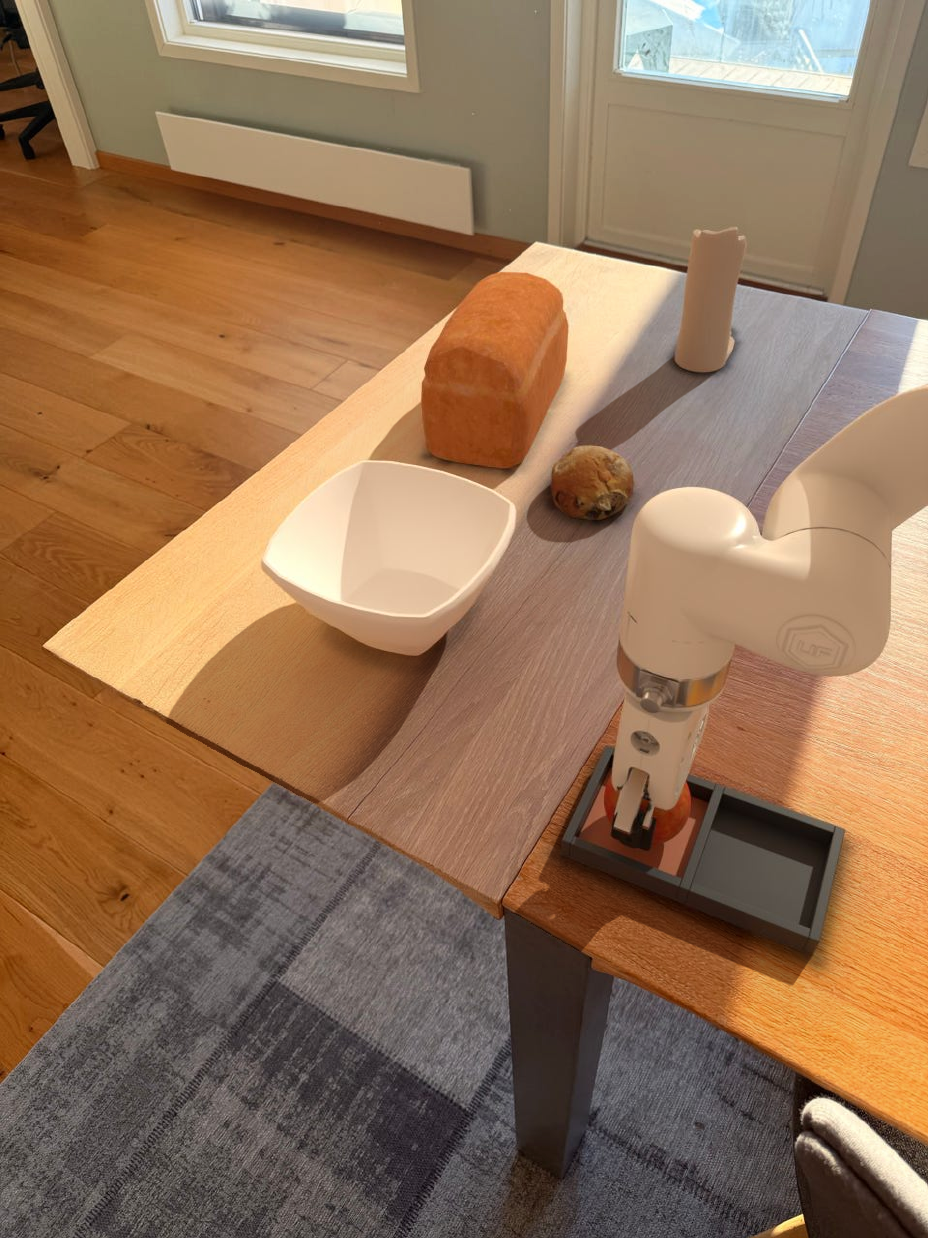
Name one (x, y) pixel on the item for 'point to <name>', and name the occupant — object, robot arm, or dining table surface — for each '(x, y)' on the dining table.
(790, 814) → the tray
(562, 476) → the bread roll
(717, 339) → the candle
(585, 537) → the dining table surface
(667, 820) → the fruit
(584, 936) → the dining table surface
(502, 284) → the bread
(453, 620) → the bowl
